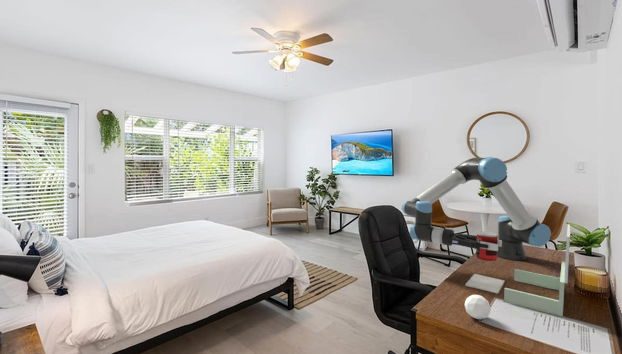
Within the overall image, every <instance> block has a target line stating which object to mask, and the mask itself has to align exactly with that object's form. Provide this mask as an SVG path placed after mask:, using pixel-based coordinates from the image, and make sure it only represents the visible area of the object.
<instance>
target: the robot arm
mask: <svg viewBox="0 0 622 354" xmlns="http://www.w3.org/2000/svg"><path fill="white" fill-rule="evenodd" d="M507 170H508V167H507V164H506V163H505V162H504V161H503V160H502V159H500V158H497V157H493V156H492V157H490V156H489V157H487V156H486V157H472V158H468V159H467V160H465V161H463V162H461V163H459V164H458V165H457V166H455V167H454V168H453V169H451V171H450V173H449V174H448V175H446V176H445V177H443V178H441V179H440V180H439V181H438V182H436V183H434V184H433V185H431V186H430V187H429V188H427V189H426V190H425V191H423V192H422V193H420V194H419V195H417V196H416V197H415V198H413V199H412V200H406V201H404V202H403V203H402V205H401V210H402V212H403V213H404V214H405V215H407V216H409V217H411V218H415V223H413V224H411V226H410V228H409V237H410V238H411V239H413V240H417V241H421V242H427V243H433V244H435V245H442V244H443V246H449V247H450V246H453V245H456V246H462V247H466V248H471V249H474V250H476V249H477V250H479V248H482V249H488V250H494V251H497V258H502V259H505V260H511V261H513V260H514V261H523V260H526V259H527V254H526V251H525V247H524V244H526V245H530V246H532V247H533V246H534V247H537V248H538V247H543V246H545V245H546V244H548V242H549V241H550V238H551V236H552V232H551V229H550V227H549V226H548V225H546V224H544V223H541V222H540V221H539V220H538V218H537V217H536V216H535V215H533V214H531V213H529V211H528V209H527V208H526V207H525V206H524V204H523V203H522V201H521V199H520V198H519V196H518V195H517V194H516V192H515V190H514V189H513V188H512V186H511V185H510V183H509V182H508V175H507V174H508V171H507ZM473 180H475V181H479V182H480V184H481V185H482V187H483V188H484V189H489V191H490V192H491V194H492V195H493V196H494V198H495V199H496V201H497V202H498V203H499V205H500V206H501V208H502V209H503V210H504V212H505V213H506V215H500V216H499V218H498V227H497V228H498V231H497V234H498V244H493V243H487V242H477V241H476V240H477V235H475V234H465V233H457V234H456V233H455V231H454V230H453V229H449V228H443V227H435V226H432V221H433V220H432V219H433V204H434V203H435V202H437V201H438V200H440V199H441V198H442V197H444V196H445V195H447V194H448V193H450V192H451V191H452V190H454V189H455V188H456V187H458V186H460V185H461V184H462V185H465V184H466V183H468V182H470V181H473Z"/></svg>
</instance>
